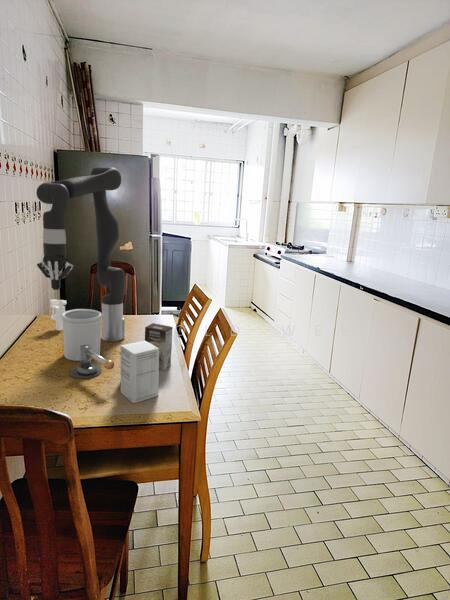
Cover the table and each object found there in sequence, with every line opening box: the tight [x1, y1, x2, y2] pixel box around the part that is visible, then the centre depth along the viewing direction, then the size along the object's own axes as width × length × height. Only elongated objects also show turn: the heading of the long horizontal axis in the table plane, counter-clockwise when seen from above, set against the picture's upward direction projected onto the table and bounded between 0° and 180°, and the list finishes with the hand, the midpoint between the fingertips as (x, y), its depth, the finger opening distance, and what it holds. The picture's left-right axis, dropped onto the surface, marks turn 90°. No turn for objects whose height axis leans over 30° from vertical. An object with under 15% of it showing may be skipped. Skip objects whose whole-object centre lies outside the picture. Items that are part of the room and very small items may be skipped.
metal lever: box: [76, 345, 115, 376], centre depth 136 cm, size 20×7×9 cm, turn 46°
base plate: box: [69, 366, 102, 380], centre depth 142 cm, size 11×11×1 cm
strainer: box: [49, 298, 67, 332], centre depth 186 cm, size 7×7×15 cm
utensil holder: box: [62, 308, 102, 362], centre depth 156 cm, size 15×15×18 cm
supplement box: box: [119, 340, 160, 404], centre depth 127 cm, size 10×9×17 cm
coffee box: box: [144, 322, 173, 371], centre depth 151 cm, size 9×6×16 cm
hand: (56, 289), depth 142 cm, fingers closed
